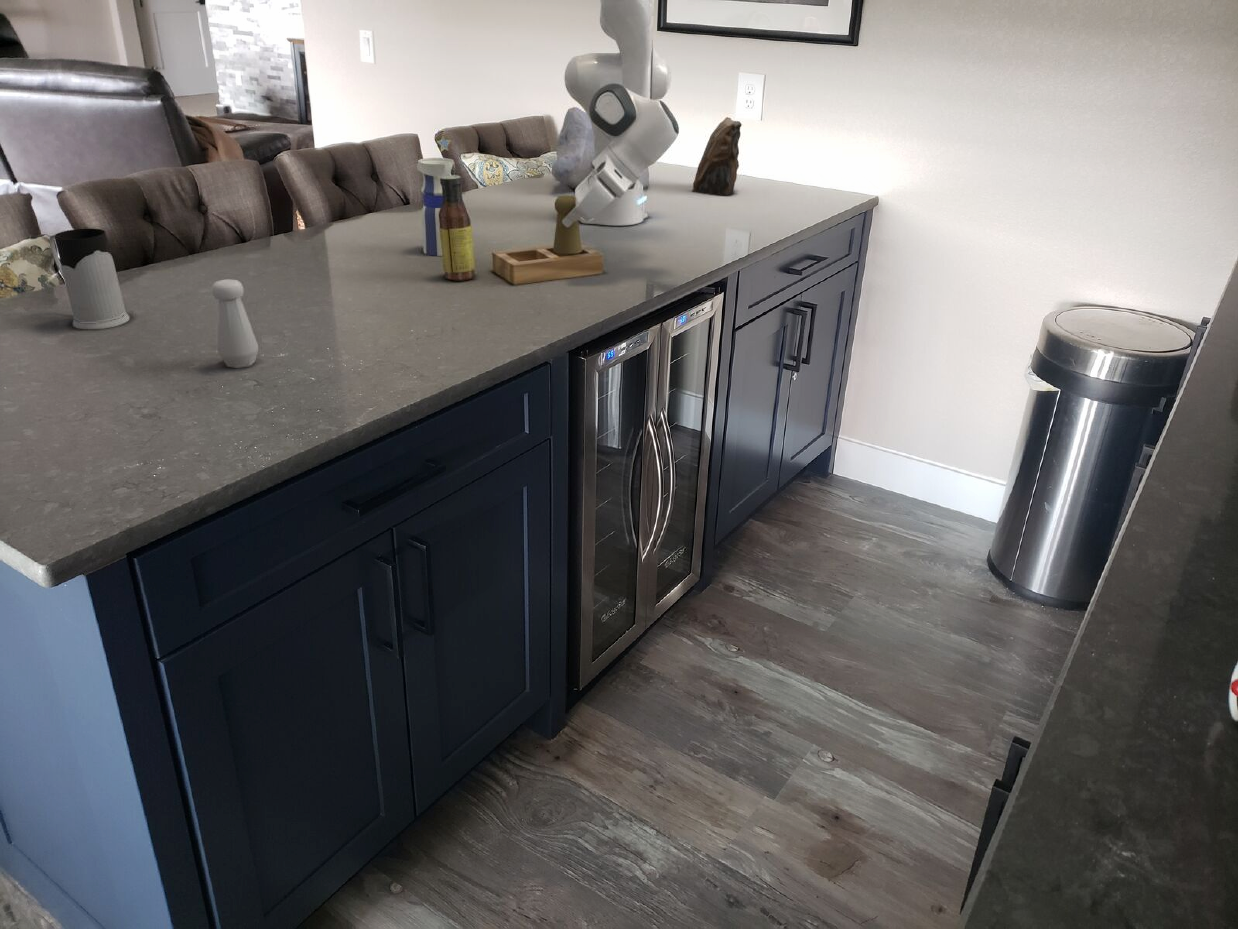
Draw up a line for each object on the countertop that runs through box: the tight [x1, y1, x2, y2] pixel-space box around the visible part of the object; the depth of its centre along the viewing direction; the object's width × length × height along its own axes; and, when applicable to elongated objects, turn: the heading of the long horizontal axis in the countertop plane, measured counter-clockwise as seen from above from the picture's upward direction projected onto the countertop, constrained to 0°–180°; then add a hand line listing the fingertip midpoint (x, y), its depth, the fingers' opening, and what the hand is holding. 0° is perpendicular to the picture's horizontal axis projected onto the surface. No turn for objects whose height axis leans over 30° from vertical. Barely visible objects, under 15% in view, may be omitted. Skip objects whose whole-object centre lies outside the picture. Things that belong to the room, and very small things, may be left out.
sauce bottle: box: [439, 174, 476, 282], centre depth 183 cm, size 7×6×20 cm
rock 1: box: [551, 106, 650, 189], centre depth 268 cm, size 23×30×27 cm
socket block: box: [491, 243, 604, 286], centre depth 192 cm, size 11×20×4 cm, turn 119°
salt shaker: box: [211, 278, 259, 369], centre depth 141 cm, size 6×6×13 cm
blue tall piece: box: [416, 135, 456, 257], centre depth 200 cm, size 8×9×25 cm
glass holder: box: [49, 228, 131, 330], centre depth 157 cm, size 9×14×15 cm, turn 58°
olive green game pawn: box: [553, 195, 582, 254], centre depth 190 cm, size 6×6×11 cm
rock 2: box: [691, 116, 743, 197], centre depth 267 cm, size 13×13×20 cm
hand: (564, 221), depth 190 cm, fingers closed on olive green game pawn, 4 cm apart
